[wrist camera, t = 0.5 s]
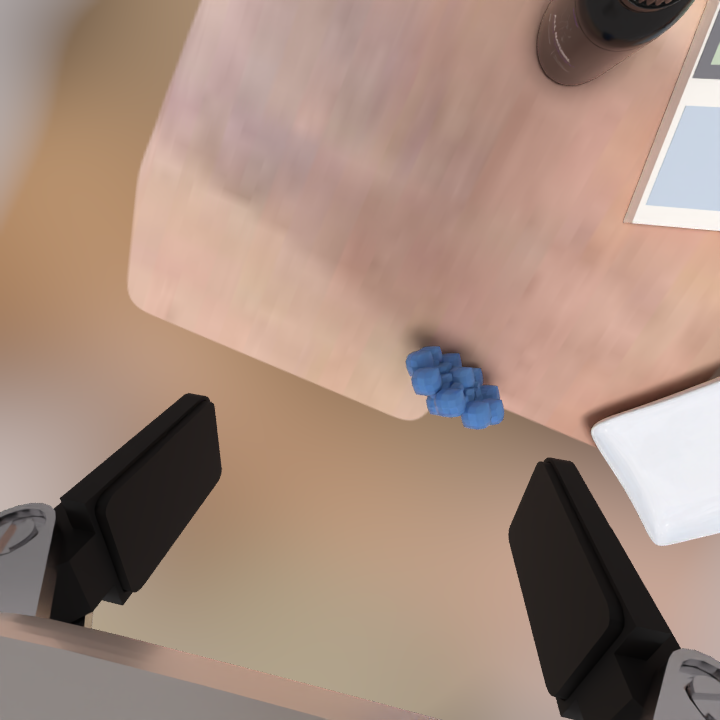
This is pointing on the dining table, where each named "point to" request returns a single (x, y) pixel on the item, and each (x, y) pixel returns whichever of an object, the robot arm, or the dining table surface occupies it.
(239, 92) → the dining table surface
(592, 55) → the supplement bottle
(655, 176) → the printed board
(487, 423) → the grapes
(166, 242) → the dining table surface
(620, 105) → the dining table surface
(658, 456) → the salad plate
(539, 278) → the dining table surface
